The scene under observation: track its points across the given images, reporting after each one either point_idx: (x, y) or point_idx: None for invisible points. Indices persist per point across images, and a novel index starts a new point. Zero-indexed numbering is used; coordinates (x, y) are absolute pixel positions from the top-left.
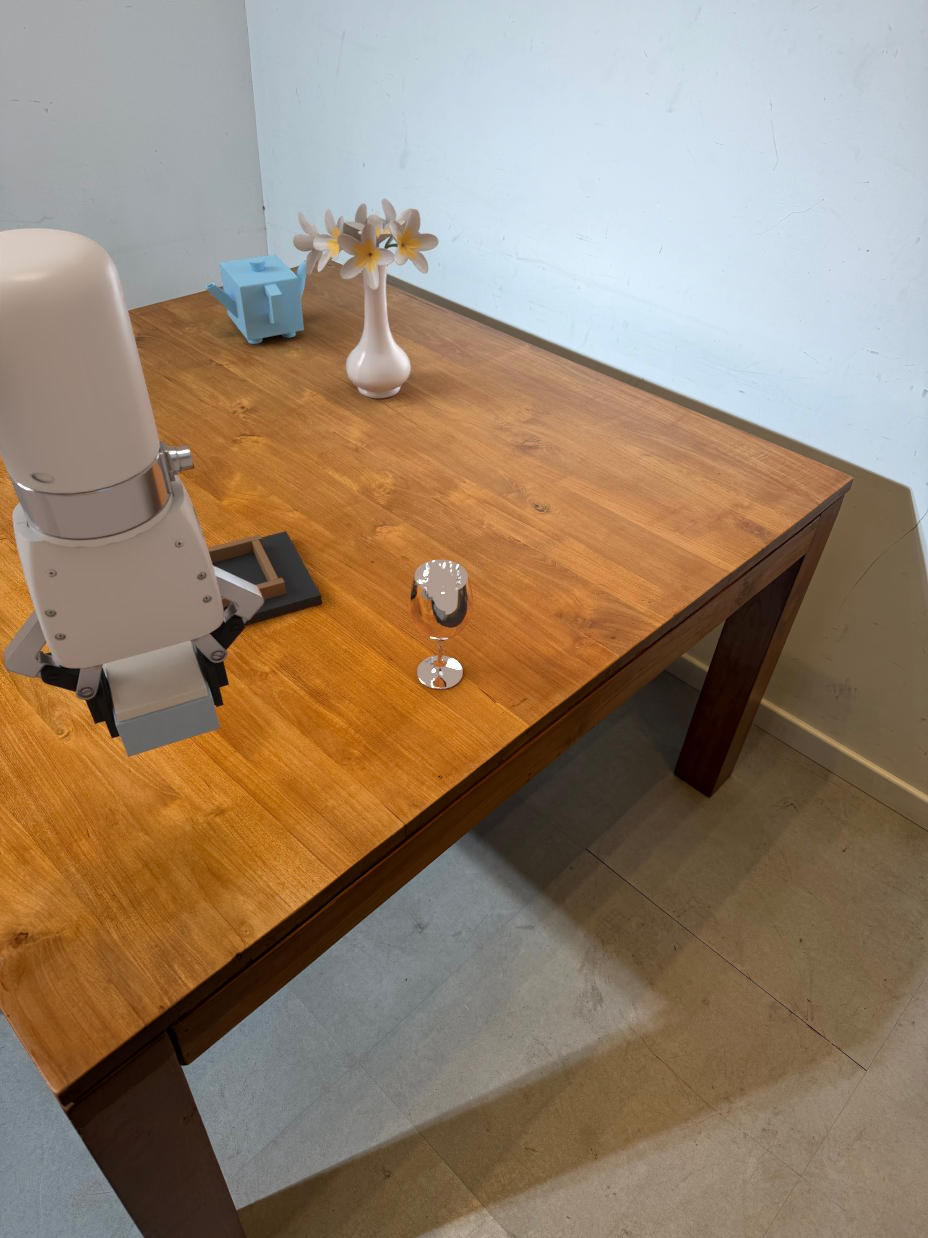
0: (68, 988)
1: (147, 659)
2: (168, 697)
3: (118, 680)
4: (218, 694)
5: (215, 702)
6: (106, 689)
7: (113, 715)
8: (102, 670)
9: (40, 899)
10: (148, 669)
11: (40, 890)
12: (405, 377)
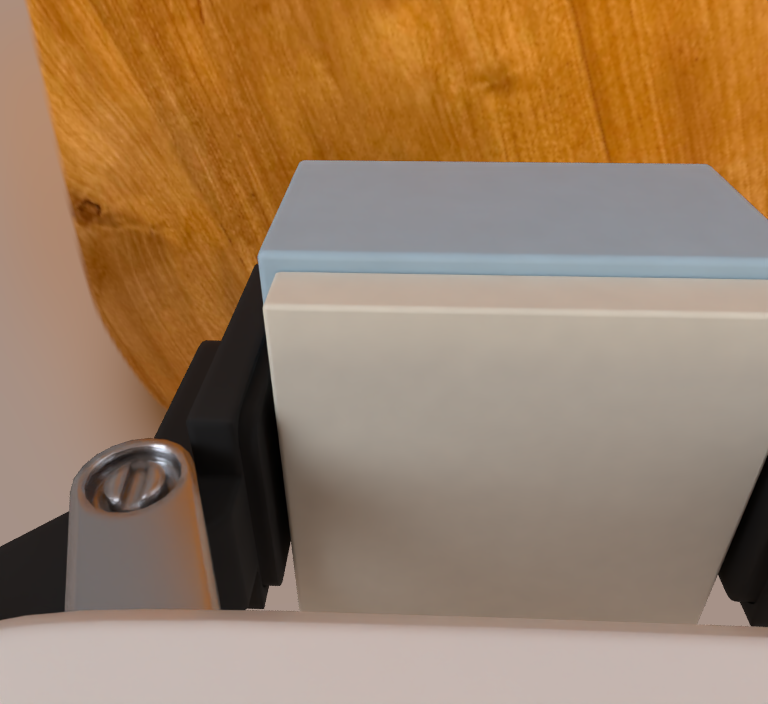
0: (179, 325)
1: (506, 428)
2: None
3: (333, 502)
4: None
5: None
6: (272, 563)
7: None
8: (257, 456)
9: (111, 143)
10: (490, 493)
11: (108, 122)
12: None
